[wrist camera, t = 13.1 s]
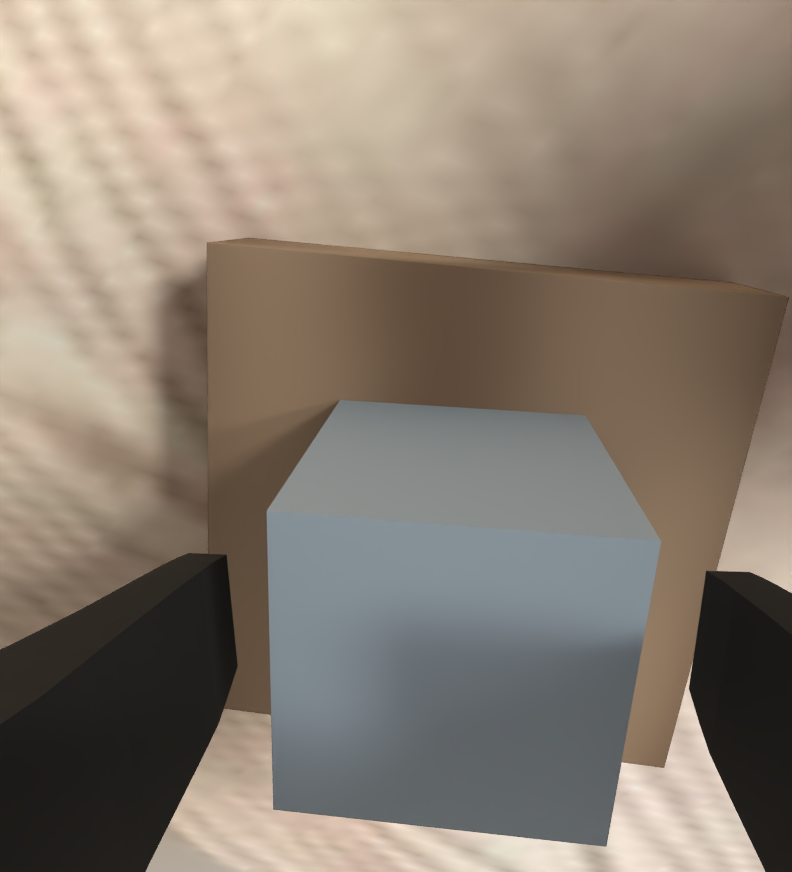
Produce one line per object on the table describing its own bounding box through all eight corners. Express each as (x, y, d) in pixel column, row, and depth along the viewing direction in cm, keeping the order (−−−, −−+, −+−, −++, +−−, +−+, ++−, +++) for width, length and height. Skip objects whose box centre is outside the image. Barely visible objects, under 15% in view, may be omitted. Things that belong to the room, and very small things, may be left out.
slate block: (585, 415, 12) (661, 541, 8) (557, 628, 14) (605, 846, 9) (340, 399, 13) (266, 510, 8) (337, 609, 14) (273, 809, 9)
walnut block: (723, 280, 14) (788, 297, 11) (630, 677, 17) (663, 768, 15) (255, 237, 15) (207, 242, 12) (248, 628, 18) (208, 706, 15)
